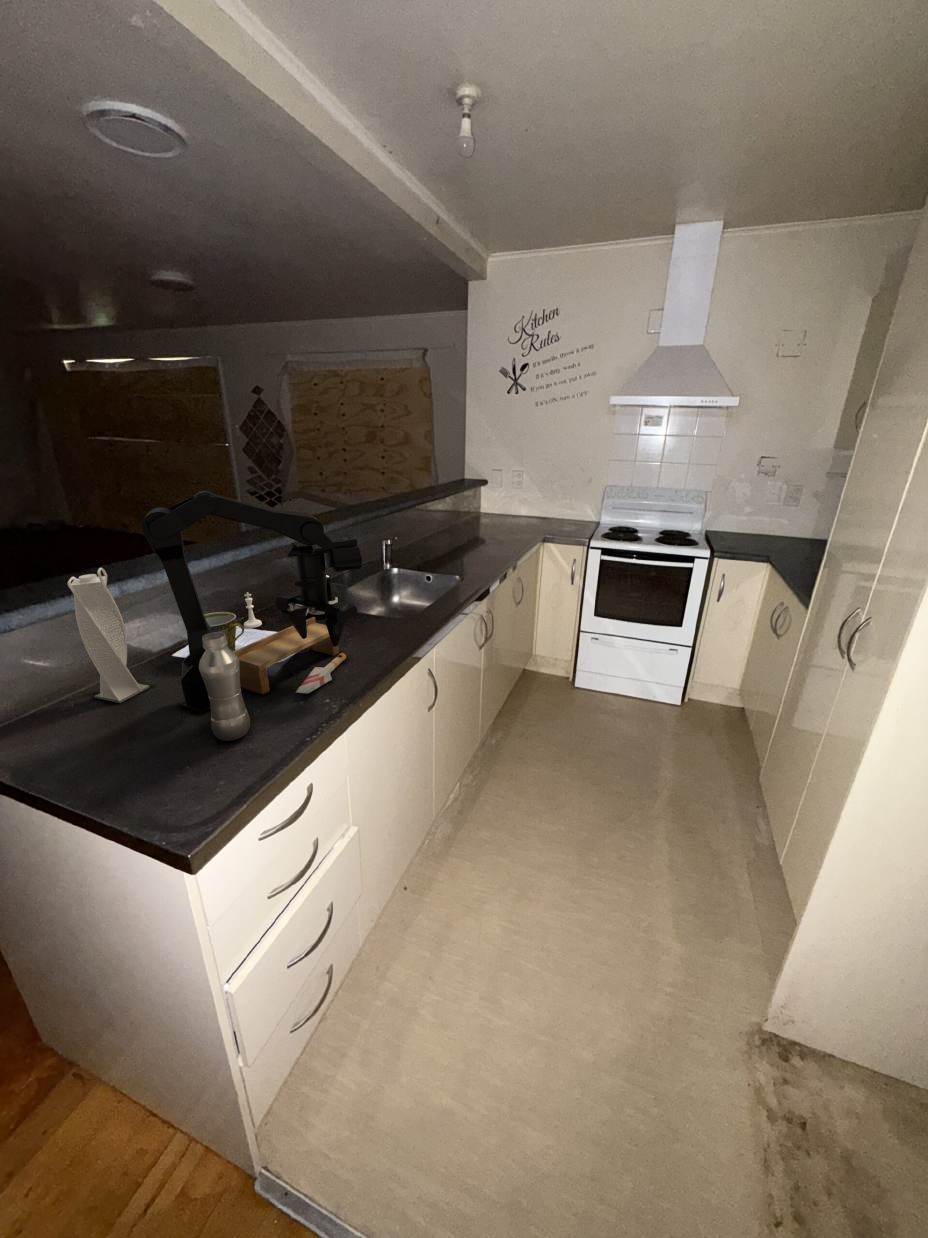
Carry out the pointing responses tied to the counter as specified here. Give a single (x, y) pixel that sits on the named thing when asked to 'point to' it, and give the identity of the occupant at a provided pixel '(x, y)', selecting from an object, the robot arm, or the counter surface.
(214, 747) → the counter surface
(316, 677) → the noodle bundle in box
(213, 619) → the ceramic cup
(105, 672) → the skyscraper
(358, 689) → the counter surface
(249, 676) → the shelf
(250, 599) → the chess piece
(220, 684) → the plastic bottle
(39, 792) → the counter surface
